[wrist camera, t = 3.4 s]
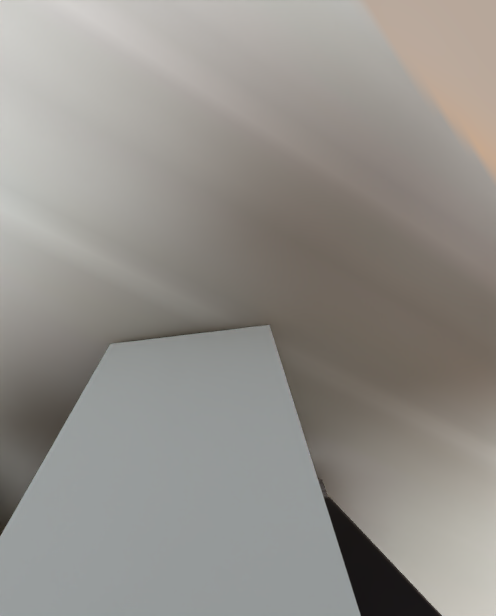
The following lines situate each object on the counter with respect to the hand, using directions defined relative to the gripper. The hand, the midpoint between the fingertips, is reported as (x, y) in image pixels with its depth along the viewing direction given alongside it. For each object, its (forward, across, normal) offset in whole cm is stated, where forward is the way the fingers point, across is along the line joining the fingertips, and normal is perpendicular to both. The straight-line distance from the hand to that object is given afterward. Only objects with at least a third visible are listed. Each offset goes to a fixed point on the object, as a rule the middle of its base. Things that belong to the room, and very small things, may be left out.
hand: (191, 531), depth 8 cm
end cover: (+5, 0, +3) cm, 6 cm away
